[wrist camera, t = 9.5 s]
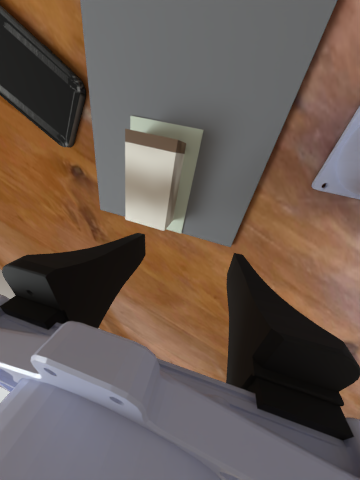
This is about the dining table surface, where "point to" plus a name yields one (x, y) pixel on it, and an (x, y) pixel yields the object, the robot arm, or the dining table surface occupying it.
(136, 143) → the card box
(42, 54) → the phone
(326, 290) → the dining table surface
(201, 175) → the mat
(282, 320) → the robot arm
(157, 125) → the pad
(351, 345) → the dining table surface
